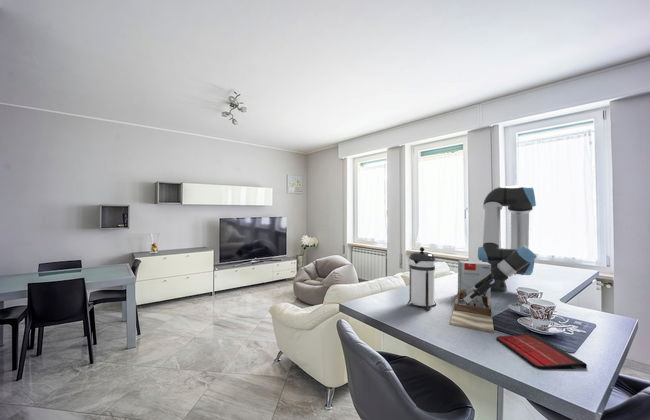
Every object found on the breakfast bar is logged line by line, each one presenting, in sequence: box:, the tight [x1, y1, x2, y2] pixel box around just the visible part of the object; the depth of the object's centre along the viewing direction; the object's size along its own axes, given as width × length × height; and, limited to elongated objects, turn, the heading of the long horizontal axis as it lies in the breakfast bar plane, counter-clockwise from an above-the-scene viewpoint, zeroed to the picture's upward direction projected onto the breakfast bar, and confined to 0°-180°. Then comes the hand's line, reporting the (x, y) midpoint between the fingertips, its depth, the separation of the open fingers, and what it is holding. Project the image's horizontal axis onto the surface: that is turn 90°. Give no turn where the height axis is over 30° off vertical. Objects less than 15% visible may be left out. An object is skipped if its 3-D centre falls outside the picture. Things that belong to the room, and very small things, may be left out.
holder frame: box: [454, 291, 492, 317], centre depth 139 cm, size 21×15×4 cm
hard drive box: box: [457, 259, 491, 298], centre depth 154 cm, size 16×8×20 cm, turn 73°
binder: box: [495, 332, 588, 370], centre depth 95 cm, size 16×2×21 cm
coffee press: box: [406, 247, 437, 311], centre depth 141 cm, size 17×16×30 cm
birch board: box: [449, 310, 495, 334], centre depth 120 cm, size 16×16×1 cm
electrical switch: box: [463, 288, 485, 308], centre depth 139 cm, size 9×5×9 cm, turn 116°
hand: (465, 298), depth 140 cm, fingers closed on electrical switch, 9 cm apart
